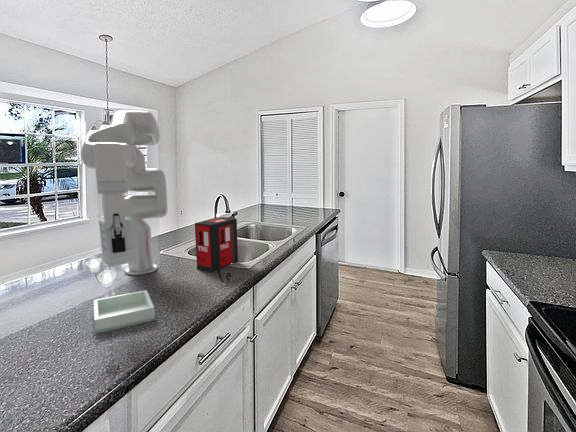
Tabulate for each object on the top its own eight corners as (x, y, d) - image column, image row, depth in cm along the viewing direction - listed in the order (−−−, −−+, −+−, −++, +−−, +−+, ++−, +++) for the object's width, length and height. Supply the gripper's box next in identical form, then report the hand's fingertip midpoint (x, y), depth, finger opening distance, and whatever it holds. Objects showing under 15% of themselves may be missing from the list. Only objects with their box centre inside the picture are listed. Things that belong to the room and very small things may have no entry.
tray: (95, 312, 102) (93, 299, 101) (147, 301, 110) (146, 290, 109) (95, 333, 89) (94, 320, 89) (155, 320, 97) (154, 307, 96)
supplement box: (129, 256, 102) (126, 215, 100) (136, 262, 96) (132, 219, 94) (102, 261, 97) (98, 218, 95) (108, 267, 92) (103, 222, 89)
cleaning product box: (212, 272, 137) (210, 225, 134) (197, 269, 142) (194, 223, 138) (237, 262, 152) (236, 218, 148) (222, 259, 156) (221, 217, 153)
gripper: (96, 186, 98) (102, 243, 101) (97, 190, 84) (104, 258, 87) (124, 185, 102) (129, 240, 105) (130, 189, 87) (136, 254, 90)
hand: (118, 248), depth 96 cm, fingers closed on supplement box, 8 cm apart
